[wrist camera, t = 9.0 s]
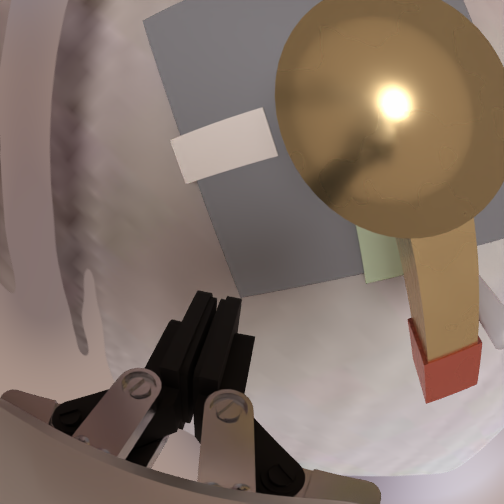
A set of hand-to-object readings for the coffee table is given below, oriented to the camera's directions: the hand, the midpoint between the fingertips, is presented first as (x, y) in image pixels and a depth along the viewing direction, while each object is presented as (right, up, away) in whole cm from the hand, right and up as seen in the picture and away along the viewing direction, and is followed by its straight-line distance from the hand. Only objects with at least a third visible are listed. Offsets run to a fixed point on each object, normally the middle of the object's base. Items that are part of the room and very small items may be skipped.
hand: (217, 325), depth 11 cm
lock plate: (+8, +12, +6) cm, 15 cm away
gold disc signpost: (+8, +4, 0) cm, 9 cm away
